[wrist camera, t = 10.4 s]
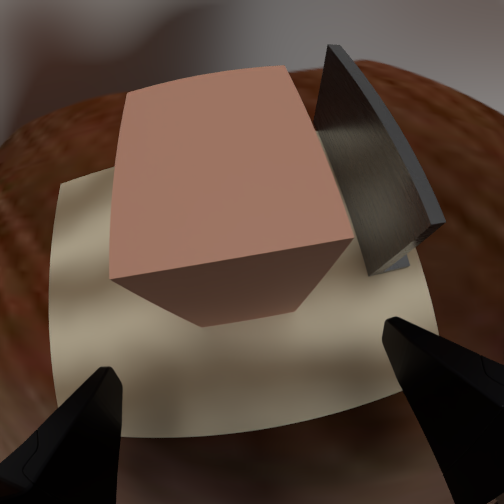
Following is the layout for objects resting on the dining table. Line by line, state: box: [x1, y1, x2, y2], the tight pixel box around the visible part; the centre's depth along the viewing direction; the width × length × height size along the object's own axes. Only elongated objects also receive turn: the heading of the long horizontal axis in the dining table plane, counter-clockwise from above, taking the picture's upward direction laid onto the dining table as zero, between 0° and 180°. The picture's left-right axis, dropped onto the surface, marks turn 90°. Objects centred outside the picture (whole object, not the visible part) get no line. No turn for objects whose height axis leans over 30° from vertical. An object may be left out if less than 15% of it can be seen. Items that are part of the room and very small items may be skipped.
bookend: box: [313, 45, 446, 277], centre depth 14 cm, size 12×3×7 cm, turn 10°
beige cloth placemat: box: [49, 131, 439, 438], centre depth 16 cm, size 18×24×1 cm
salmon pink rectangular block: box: [109, 65, 354, 327], centre depth 11 cm, size 6×5×10 cm
